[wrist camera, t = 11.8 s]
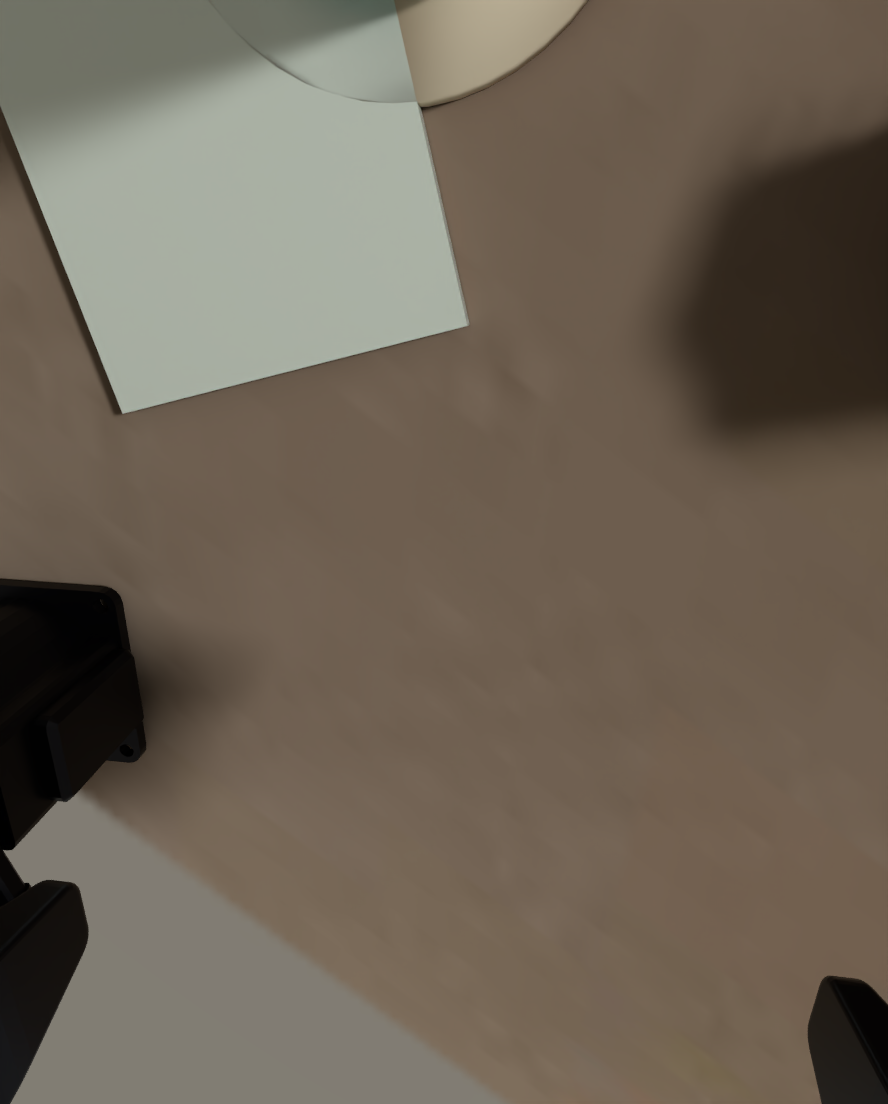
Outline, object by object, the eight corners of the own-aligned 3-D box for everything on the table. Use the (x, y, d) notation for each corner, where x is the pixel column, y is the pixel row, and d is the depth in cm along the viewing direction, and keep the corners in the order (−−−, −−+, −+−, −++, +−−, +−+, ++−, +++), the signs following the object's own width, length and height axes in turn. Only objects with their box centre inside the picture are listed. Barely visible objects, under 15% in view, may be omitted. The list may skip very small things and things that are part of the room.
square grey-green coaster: (133, 410, 20) (122, 413, 20) (-24, 6, 17) (-44, -4, 16) (469, 324, 18) (467, 325, 18) (362, -153, 15) (355, -169, 14)
